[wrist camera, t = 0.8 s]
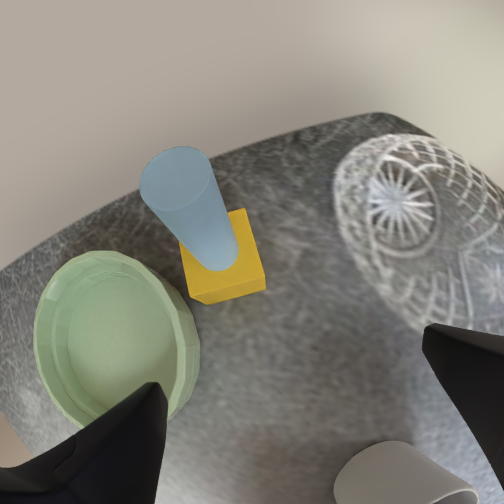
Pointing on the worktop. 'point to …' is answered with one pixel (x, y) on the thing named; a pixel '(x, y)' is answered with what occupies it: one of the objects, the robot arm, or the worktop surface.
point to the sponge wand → (203, 226)
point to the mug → (399, 478)
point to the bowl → (113, 336)
